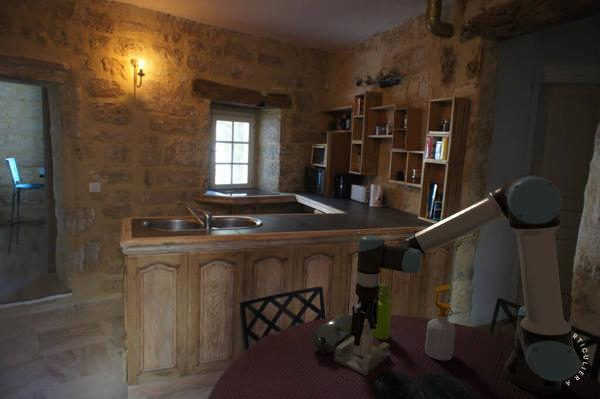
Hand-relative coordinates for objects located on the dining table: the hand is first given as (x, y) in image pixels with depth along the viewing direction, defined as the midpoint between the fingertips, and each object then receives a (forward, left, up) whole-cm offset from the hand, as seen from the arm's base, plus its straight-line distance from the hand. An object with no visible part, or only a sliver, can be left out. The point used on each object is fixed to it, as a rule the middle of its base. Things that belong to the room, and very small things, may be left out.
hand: (362, 349), depth 123 cm
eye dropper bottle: (0, 0, -2) cm, 2 cm away
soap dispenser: (+3, -18, -3) cm, 19 cm away
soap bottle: (-18, -21, -3) cm, 28 cm away
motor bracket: (+5, +1, -3) cm, 6 cm away
